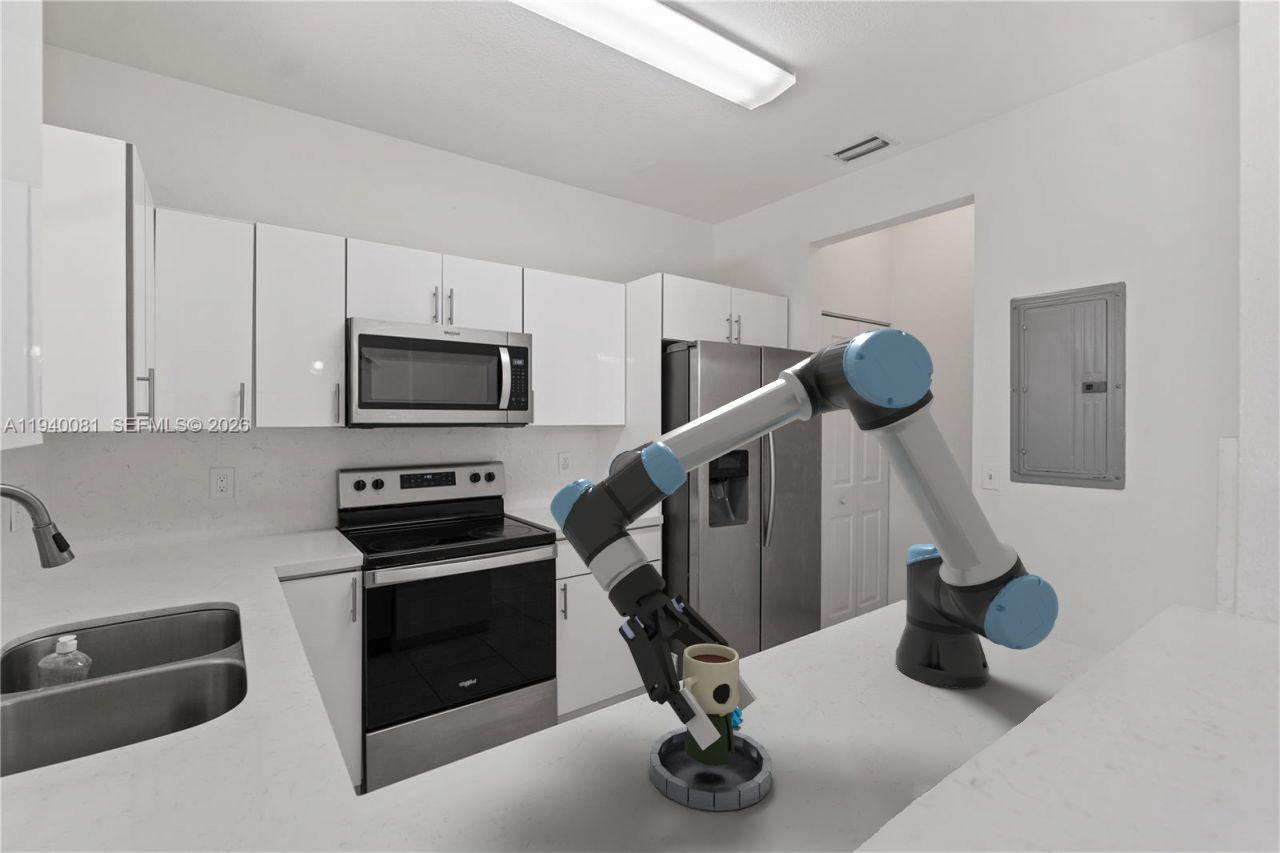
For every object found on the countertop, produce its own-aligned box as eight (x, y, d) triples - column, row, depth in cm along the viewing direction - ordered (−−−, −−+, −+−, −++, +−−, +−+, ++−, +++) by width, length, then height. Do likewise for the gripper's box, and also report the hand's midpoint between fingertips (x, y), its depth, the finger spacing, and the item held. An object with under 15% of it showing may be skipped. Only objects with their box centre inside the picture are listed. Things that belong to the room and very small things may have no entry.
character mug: (707, 787, 68) (709, 674, 68) (660, 763, 73) (661, 657, 73) (756, 749, 76) (758, 649, 76) (711, 730, 81) (712, 635, 81)
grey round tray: (748, 739, 83) (748, 723, 83) (789, 806, 68) (790, 787, 68) (642, 745, 81) (642, 729, 81) (661, 816, 66) (661, 797, 66)
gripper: (654, 577, 93) (746, 702, 84) (558, 615, 73) (666, 784, 65) (685, 547, 90) (783, 674, 82) (593, 579, 70) (711, 750, 62)
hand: (731, 722), depth 73 cm, fingers closed on character mug, 11 cm apart
